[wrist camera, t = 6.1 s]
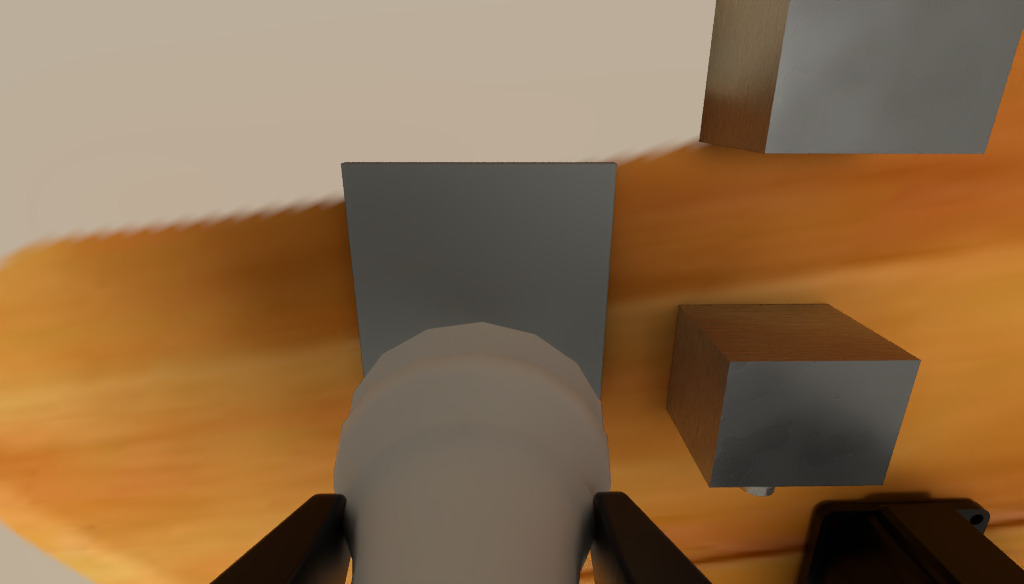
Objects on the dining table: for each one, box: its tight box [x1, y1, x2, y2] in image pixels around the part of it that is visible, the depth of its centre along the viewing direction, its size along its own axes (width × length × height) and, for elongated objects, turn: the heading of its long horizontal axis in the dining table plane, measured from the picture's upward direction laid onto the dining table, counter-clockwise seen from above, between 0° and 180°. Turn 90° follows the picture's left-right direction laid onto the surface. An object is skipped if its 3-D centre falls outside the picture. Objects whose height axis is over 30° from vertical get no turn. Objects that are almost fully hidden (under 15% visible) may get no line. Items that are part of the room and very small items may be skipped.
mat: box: [341, 162, 617, 400], centre depth 16 cm, size 8×8×1 cm
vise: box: [667, 0, 1024, 496], centre depth 15 cm, size 15×5×4 cm, turn 0°
